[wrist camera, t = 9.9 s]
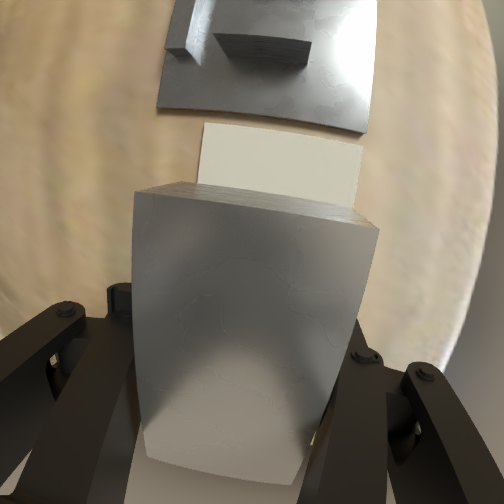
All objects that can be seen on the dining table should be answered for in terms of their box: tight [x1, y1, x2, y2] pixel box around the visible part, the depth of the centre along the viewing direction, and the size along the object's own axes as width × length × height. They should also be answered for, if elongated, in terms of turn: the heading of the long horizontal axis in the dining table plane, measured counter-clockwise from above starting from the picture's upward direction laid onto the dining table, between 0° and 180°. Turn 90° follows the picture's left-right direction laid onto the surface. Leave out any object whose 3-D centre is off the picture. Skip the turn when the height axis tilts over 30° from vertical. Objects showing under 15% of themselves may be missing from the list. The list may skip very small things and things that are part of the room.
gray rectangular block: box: [132, 181, 379, 485], centre depth 12 cm, size 4×7×12 cm, turn 172°
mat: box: [197, 123, 363, 209], centre depth 24 cm, size 12×16×1 cm
